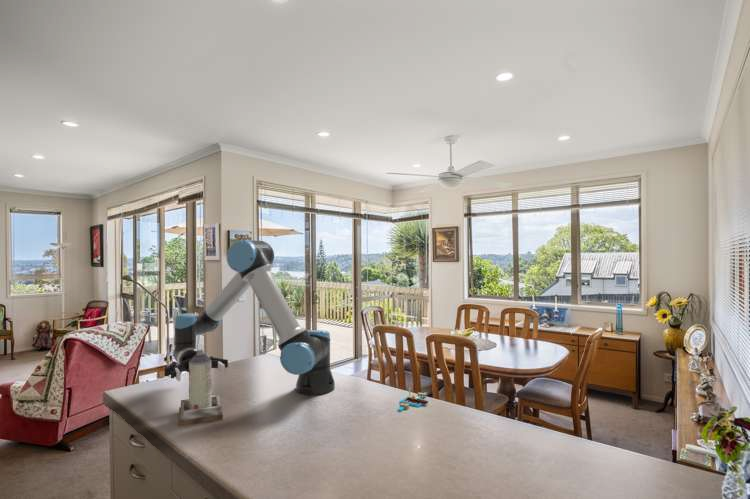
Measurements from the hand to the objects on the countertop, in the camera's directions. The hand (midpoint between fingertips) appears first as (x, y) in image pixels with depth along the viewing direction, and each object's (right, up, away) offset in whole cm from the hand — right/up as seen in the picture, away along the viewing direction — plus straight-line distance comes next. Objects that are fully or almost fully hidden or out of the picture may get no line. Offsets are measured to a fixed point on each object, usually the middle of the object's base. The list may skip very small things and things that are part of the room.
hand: (202, 373), depth 131 cm
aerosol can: (-1, -13, +2) cm, 13 cm away
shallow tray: (-1, -15, +2) cm, 15 cm away
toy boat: (+71, -15, +12) cm, 73 cm away
